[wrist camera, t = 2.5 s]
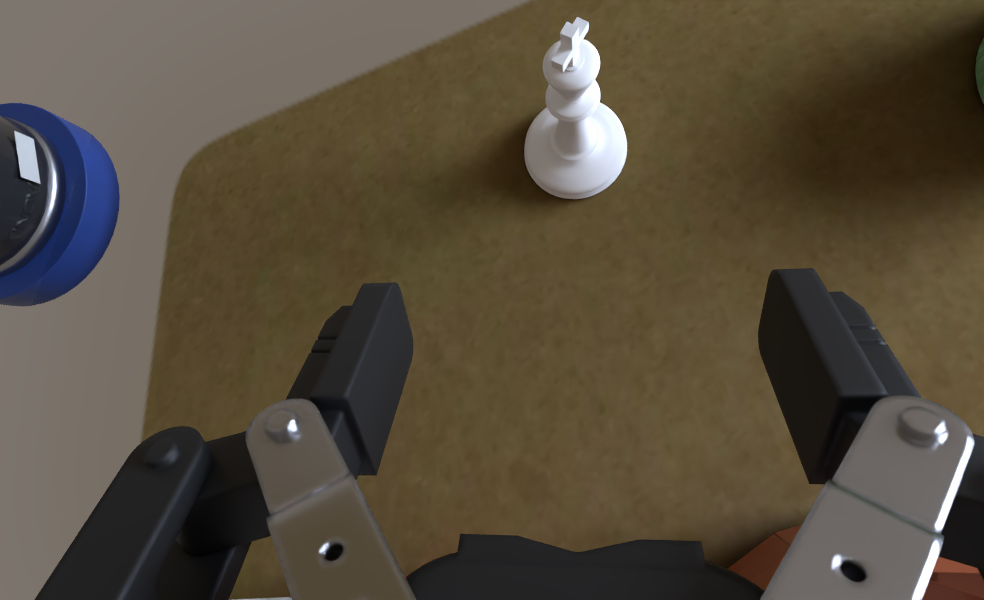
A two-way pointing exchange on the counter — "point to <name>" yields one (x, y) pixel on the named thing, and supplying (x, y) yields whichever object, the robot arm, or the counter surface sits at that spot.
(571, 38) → the chess piece
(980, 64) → the ramekin
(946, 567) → the bowl
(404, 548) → the counter surface
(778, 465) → the counter surface
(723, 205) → the counter surface
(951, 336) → the counter surface
